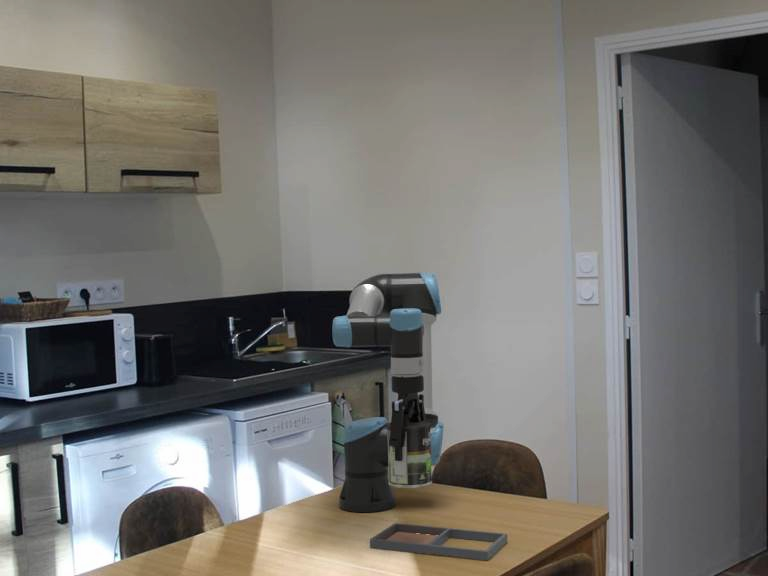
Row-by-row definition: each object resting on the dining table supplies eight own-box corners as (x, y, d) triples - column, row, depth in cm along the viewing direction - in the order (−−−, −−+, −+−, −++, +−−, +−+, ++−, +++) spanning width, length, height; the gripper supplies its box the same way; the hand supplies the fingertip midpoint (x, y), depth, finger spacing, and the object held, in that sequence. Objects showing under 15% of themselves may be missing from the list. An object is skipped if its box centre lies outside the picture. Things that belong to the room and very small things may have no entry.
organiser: (395, 530, 240) (395, 522, 240) (507, 542, 228) (507, 533, 228) (370, 547, 226) (369, 539, 226) (487, 560, 215) (487, 551, 215)
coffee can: (435, 479, 233) (433, 420, 233) (428, 489, 223) (427, 427, 223) (392, 478, 236) (391, 419, 235) (384, 488, 225) (382, 427, 225)
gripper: (403, 381, 217) (405, 481, 217) (439, 369, 238) (441, 461, 238) (372, 380, 220) (374, 478, 221) (411, 369, 241) (413, 459, 241)
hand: (409, 469), depth 229 cm, fingers closed on coffee can, 10 cm apart
